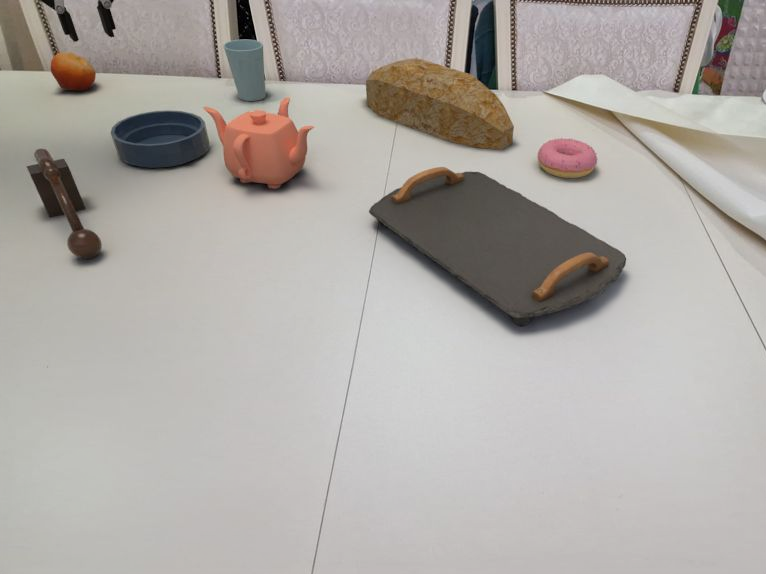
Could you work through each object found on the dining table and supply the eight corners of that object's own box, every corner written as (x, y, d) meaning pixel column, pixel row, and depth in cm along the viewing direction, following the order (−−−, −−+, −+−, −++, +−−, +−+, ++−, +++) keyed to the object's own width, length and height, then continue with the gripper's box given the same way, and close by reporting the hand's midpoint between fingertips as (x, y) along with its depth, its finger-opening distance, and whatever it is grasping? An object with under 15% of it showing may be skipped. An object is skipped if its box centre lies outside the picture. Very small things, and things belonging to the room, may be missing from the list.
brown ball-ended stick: (109, 258, 85) (85, 200, 79) (77, 267, 84) (50, 208, 78) (76, 198, 97) (53, 143, 91) (48, 205, 95) (22, 149, 89)
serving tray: (355, 217, 97) (352, 181, 93) (466, 178, 109) (468, 144, 105) (529, 347, 76) (535, 307, 72) (642, 281, 88) (654, 244, 84)
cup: (278, 95, 133) (270, 44, 126) (251, 106, 128) (241, 53, 121) (254, 87, 136) (244, 36, 129) (226, 97, 131) (215, 45, 124)
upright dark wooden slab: (85, 208, 95) (68, 166, 90) (49, 217, 93) (29, 174, 88) (81, 200, 97) (64, 158, 92) (45, 208, 94) (26, 165, 90)
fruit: (47, 77, 131) (56, 41, 127) (90, 94, 136) (99, 60, 132) (43, 90, 125) (52, 53, 122) (87, 107, 130) (97, 72, 127)
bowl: (114, 174, 104) (105, 148, 101) (124, 137, 114) (116, 113, 111) (209, 166, 107) (203, 141, 104) (210, 131, 118) (205, 108, 115)
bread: (352, 106, 131) (349, 56, 124) (387, 93, 138) (385, 45, 131) (490, 156, 116) (494, 102, 109) (521, 138, 123) (527, 87, 116)
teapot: (216, 166, 108) (201, 102, 100) (296, 153, 113) (288, 92, 106) (235, 203, 98) (221, 136, 91) (322, 187, 104) (314, 122, 96)
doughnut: (605, 167, 115) (610, 145, 112) (576, 187, 108) (580, 165, 105) (555, 150, 119) (558, 129, 117) (524, 168, 113) (527, 147, 110)
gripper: (104, -110, 91) (140, 24, 104) (-31, -108, 83) (27, 37, 95) (118, -103, 87) (155, 36, 99) (-22, -101, 79) (37, 51, 91)
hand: (91, 35), depth 97 cm, fingers open, 4 cm apart
